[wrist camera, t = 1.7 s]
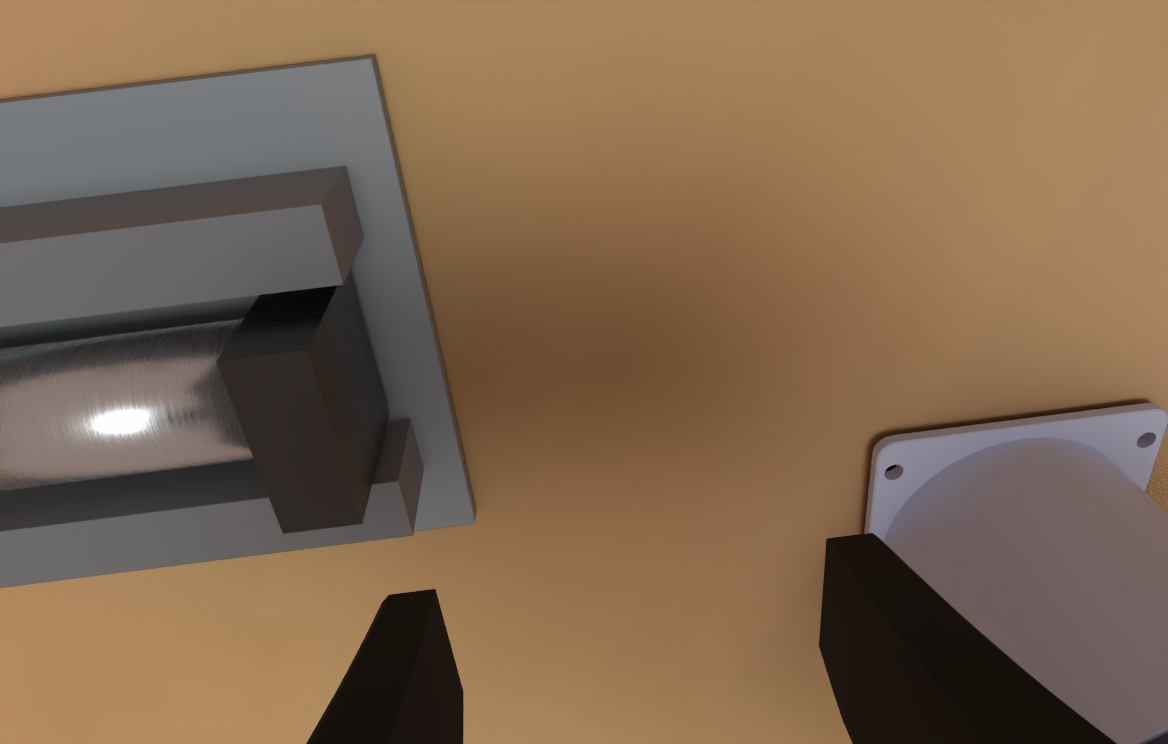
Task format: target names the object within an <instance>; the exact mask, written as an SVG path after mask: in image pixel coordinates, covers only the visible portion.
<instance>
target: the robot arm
mask: <svg viewBox="0 0 1168 744" xmlns="http://www.w3.org/2000/svg"><path fill="white" fill-rule="evenodd" d="M1167 423H1168V414H1167V412H1166V411H1164V410H1163V409H1162V408H1161V407H1159V406H1158V405H1156V404H1154V403H1143V404H1135V405H1127V406H1119V407H1111V408H1103V409H1095V410H1087V411H1080V412H1072V413H1064V414H1056V415H1048V416H1040V417H1032V418H1024V419H1017V420H1009V421H1001V422H993V423H985V424H977V425H969V426H961V427H954V428H946V429H938V430H930V431H922V432H914V433H906V434H898V435H891V436H888V437H885V438H883V439H882V440H880V441H879V442H878V443H877V444H876V445H875V447H874V449H873V452H872V462H871V472H870V482H869V491H868V501H867V511H866V520H865V530H864V534H859V535H852V536H844V537H836V538H828V539H827V541H826V555H825V569H824V583H823V597H822V611H821V625H820V639H819V647H820V650H821V654H822V657H823V660H824V663H825V667H826V670H827V673H828V676H829V679H830V683H831V686H832V689H833V692H834V695H835V698H836V701H837V704H838V707H839V710H840V713H841V716H842V719H843V722H844V724H845V727H846V729H847V731H848V734H849V736H850V738H851V740H852V743H853V744H1168V513H1166V512H1165V511H1164V510H1163V509H1162V508H1161V507H1160V506H1159V505H1158V504H1157V503H1156V502H1155V501H1154V500H1153V499H1152V498H1150V497H1149V496H1148V495H1147V494H1146V493H1145V490H1146V487H1147V484H1148V481H1149V478H1150V475H1151V472H1152V469H1153V466H1154V463H1155V460H1156V457H1157V454H1158V451H1159V448H1160V445H1161V442H1162V439H1163V436H1164V433H1165V429H1166V426H1167ZM1143 434H1144V435H1143ZM1142 435H1143V436H1142ZM1140 436H1142V437H1140ZM1139 437H1140V438H1139ZM892 465H896V467H895V468H894V469H892V470H890V471H886V469H887V468H888V467H890V466H892ZM306 744H463V689H462V685H461V682H460V678H459V674H458V671H457V667H456V663H455V660H454V656H453V652H452V649H451V645H450V641H449V638H448V634H447V630H446V627H445V623H444V619H443V616H442V612H441V608H440V605H439V601H438V597H437V594H436V590H435V589H431V590H423V591H416V592H408V593H400V594H392V595H388V597H387V598H386V599H385V600H384V601H383V602H382V604H381V606H380V608H379V610H378V612H377V614H376V616H375V618H374V620H373V622H372V624H371V626H370V628H369V630H368V632H367V634H366V636H365V638H364V640H363V642H362V644H361V646H360V648H359V650H358V652H357V654H356V656H355V658H354V660H353V662H352V663H351V665H350V667H349V669H348V671H347V673H346V675H345V676H344V678H343V680H342V682H341V684H340V686H339V688H338V689H337V691H336V693H335V695H334V697H333V698H332V700H331V702H330V703H329V705H328V707H327V709H326V710H325V712H324V714H323V716H322V717H321V719H320V721H319V723H318V724H317V726H316V728H315V729H314V731H313V733H312V735H311V736H310V738H309V740H308V742H307V743H306Z"/></svg>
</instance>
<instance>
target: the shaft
mask: <svg viewBox="0 0 1168 744" xmlns="http://www.w3.org/2000/svg"><path fill="white" fill-rule="evenodd" d="M388 419H389V410H388V407H387V403H386V399H385V395H384V392H383V388H382V384H381V381H380V377H379V373H378V370H377V366H376V362H375V359H374V355H373V351H372V348H371V344H370V340H369V336H368V333H367V329H366V325H365V322H364V318H363V314H362V311H361V307H360V303H359V300H358V296H357V292H356V289H355V285H354V281H353V277H352V274H351V270H350V271H349V273H348V275H347V277H346V280H345V282H344V284H343V285H336V286H328V287H320V288H311V289H303V290H295V291H287V292H279V293H271V294H263V295H259V297H258V298H257V300H256V301H255V303H254V304H253V306H252V307H251V309H250V310H249V312H248V313H247V315H246V317H245V318H244V319H237V320H229V321H221V322H213V323H205V324H197V325H189V326H181V327H173V328H165V329H157V330H149V331H141V332H133V333H124V334H116V335H108V336H100V337H92V338H84V339H76V340H68V341H60V342H52V343H44V344H36V345H28V346H20V347H11V348H3V349H0V491H5V490H13V489H21V488H29V487H37V486H45V485H53V484H61V483H69V482H76V481H84V480H92V479H100V478H108V477H116V476H124V475H132V474H140V473H148V472H156V471H164V470H172V469H180V468H188V467H195V466H203V465H211V464H219V463H227V462H235V461H243V460H251V459H254V461H255V464H256V466H257V469H258V471H259V474H260V476H261V479H262V482H263V484H264V487H265V489H266V492H267V494H268V497H269V500H270V502H271V505H272V507H273V510H274V512H275V515H276V518H277V520H278V523H279V525H280V528H281V530H282V533H283V534H287V533H295V532H303V531H311V530H319V529H326V528H334V527H342V526H350V525H358V524H363V520H364V516H365V512H366V508H367V504H368V500H369V496H370V492H371V488H372V484H373V479H374V475H375V471H376V467H377V463H378V459H379V455H380V451H381V447H382V443H383V439H384V435H385V431H386V427H387V423H388Z"/></svg>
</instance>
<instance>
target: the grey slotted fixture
mask: <svg viewBox="0 0 1168 744" xmlns="http://www.w3.org/2000/svg"><path fill="white" fill-rule="evenodd" d="M350 270H351V274H352V277H353V281H354V285H355V289H356V292H357V296H358V300H359V303H360V307H361V311H362V314H363V318H364V322H365V325H366V329H367V333H368V336H369V340H370V344H371V348H372V351H373V355H374V359H375V362H376V366H377V370H378V373H379V377H380V381H381V384H382V388H383V392H384V395H385V399H386V403H387V407H388V410H389V419H388V423H387V427H386V431H385V435H384V439H383V443H382V447H381V451H380V455H379V459H378V463H377V467H376V471H375V475H374V479H373V484H372V488H371V492H370V496H369V500H368V504H367V508H366V512H365V516H364V520H363V524H358V525H350V526H342V527H334V528H326V529H319V530H311V531H303V532H295V533H287V534H283V533H282V530H281V528H280V525H279V523H278V520H277V518H276V515H275V512H274V510H273V507H272V505H271V502H270V500H269V497H268V494H267V492H266V489H265V487H264V484H263V482H262V479H261V476H260V474H259V471H258V469H257V466H256V464H255V461H254V459H251V460H243V461H235V462H227V463H219V464H211V465H203V466H195V467H188V468H180V469H172V470H164V471H156V472H148V473H140V474H132V475H124V476H116V477H108V478H100V479H92V480H84V481H76V482H69V483H61V484H53V485H45V486H37V487H29V488H21V489H13V490H5V491H0V588H4V587H12V586H20V585H27V584H35V583H43V582H51V581H59V580H67V579H74V578H82V577H90V576H98V575H106V574H114V573H121V572H129V571H137V570H145V569H153V568H161V567H169V566H176V565H184V564H192V563H200V562H208V561H216V560H223V559H231V558H239V557H247V556H255V555H263V554H270V553H278V552H286V551H294V550H302V549H310V548H318V547H325V546H333V545H341V544H349V543H357V542H365V541H372V540H380V539H388V538H396V537H404V536H412V535H413V534H414V531H420V530H427V529H435V528H443V527H451V526H459V525H467V524H475V520H476V509H475V504H474V500H473V495H472V491H471V486H470V482H469V477H468V473H467V468H466V464H465V459H464V455H463V450H462V446H461V441H460V437H459V432H458V428H457V423H456V419H455V414H454V410H453V405H452V401H451V396H450V391H449V387H448V382H447V378H446V373H445V369H444V364H443V360H442V355H441V351H440V346H439V342H438V337H437V333H436V328H435V324H434V319H433V315H432V310H431V306H430V301H429V297H428V292H427V288H426V283H425V279H424V274H423V269H422V265H421V260H420V256H419V251H418V247H417V242H416V238H415V233H414V229H413V224H412V220H411V215H410V211H409V206H408V202H407V197H406V193H405V188H404V184H403V179H402V175H401V170H400V166H399V161H398V156H397V152H396V147H395V143H394V138H393V134H392V129H391V125H390V120H389V116H388V111H387V107H386V102H385V98H384V93H383V89H382V84H381V80H380V75H379V71H378V66H377V62H376V57H375V55H366V56H358V57H350V58H341V59H333V60H325V61H316V62H308V63H300V64H291V65H283V66H275V67H266V68H258V69H250V70H241V71H233V72H225V73H216V74H208V75H200V76H191V77H183V78H175V79H166V80H158V81H150V82H141V83H133V84H125V85H116V86H108V87H100V88H91V89H83V90H75V91H66V92H58V93H50V94H41V95H33V96H25V97H16V98H8V99H0V349H3V348H11V347H20V346H28V345H36V344H44V343H52V342H60V341H68V340H76V339H84V338H92V337H100V336H108V335H116V334H124V333H133V332H141V331H149V330H157V329H165V328H173V327H181V326H189V325H197V324H205V323H213V322H221V321H229V320H237V319H244V318H245V317H246V315H247V313H248V312H249V310H250V309H251V307H252V306H253V304H254V303H255V301H256V300H257V298H258V297H259V295H263V294H271V293H279V292H287V291H295V290H303V289H311V288H320V287H328V286H336V285H343V284H344V282H345V280H346V277H347V275H348V273H349V271H350Z"/></svg>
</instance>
